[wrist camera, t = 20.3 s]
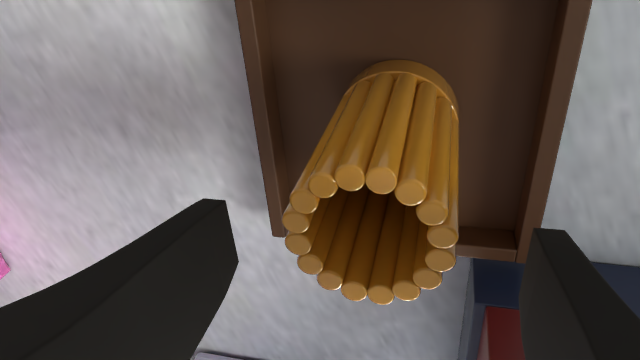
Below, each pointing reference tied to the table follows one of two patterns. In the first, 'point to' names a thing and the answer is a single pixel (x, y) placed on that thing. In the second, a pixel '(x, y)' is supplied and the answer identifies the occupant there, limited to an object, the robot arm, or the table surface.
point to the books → (516, 306)
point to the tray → (447, 60)
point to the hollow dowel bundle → (381, 187)
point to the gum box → (3, 267)
